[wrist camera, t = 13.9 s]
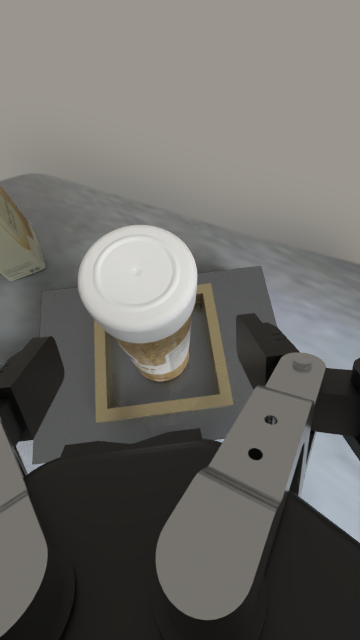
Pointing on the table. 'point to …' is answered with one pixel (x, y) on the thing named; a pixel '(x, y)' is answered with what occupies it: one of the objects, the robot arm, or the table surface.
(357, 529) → the table surface
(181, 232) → the table surface
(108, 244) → the sprinkles bottle
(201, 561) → the robot arm
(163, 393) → the grey block with recess
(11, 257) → the skincare box
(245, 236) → the table surface
